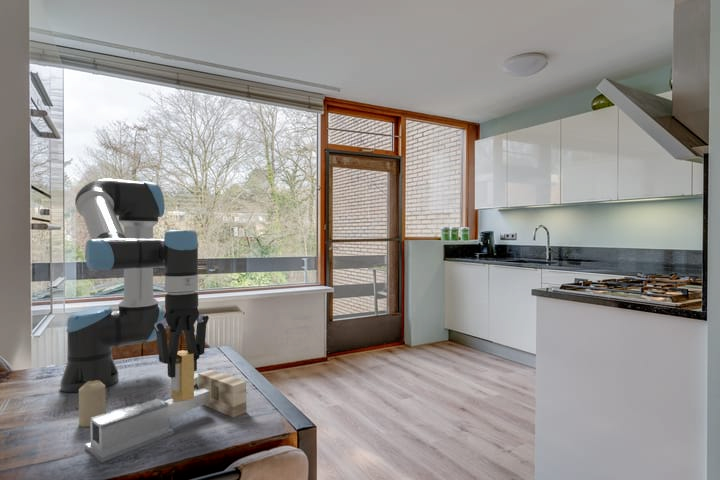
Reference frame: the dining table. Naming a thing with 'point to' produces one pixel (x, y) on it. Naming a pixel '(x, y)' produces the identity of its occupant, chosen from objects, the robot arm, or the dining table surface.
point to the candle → (91, 401)
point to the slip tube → (186, 387)
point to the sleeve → (128, 429)
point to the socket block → (224, 392)
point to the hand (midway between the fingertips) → (182, 387)
